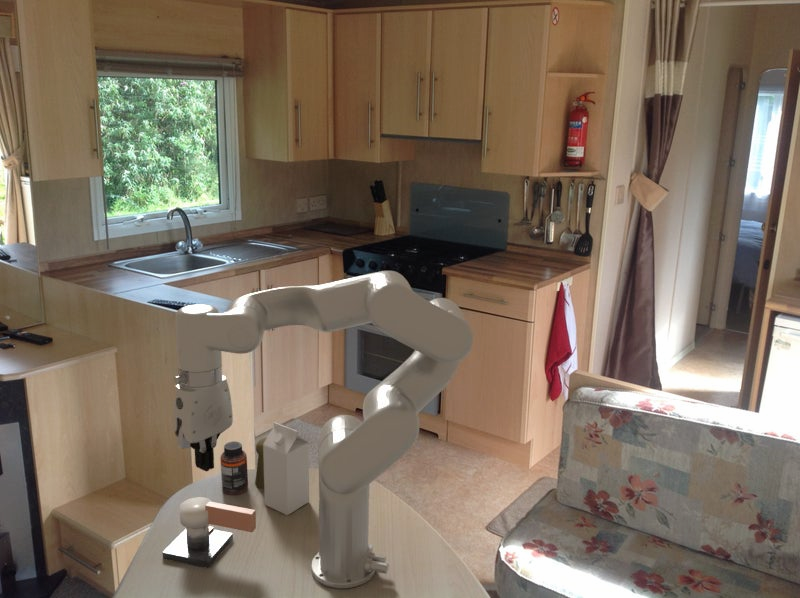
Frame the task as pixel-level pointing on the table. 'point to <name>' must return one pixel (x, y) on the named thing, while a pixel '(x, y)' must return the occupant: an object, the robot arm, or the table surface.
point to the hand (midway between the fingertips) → (204, 467)
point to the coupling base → (198, 554)
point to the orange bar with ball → (216, 515)
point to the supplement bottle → (234, 469)
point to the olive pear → (260, 464)
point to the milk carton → (286, 470)
